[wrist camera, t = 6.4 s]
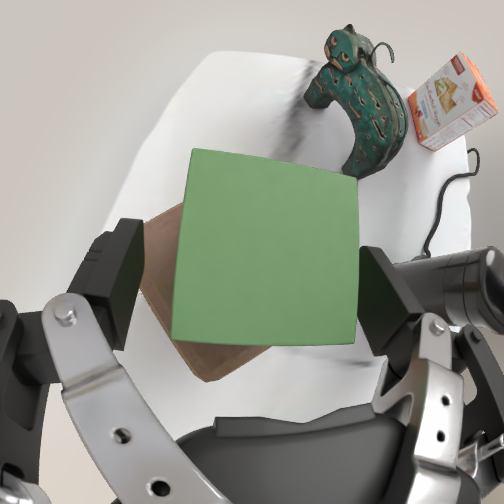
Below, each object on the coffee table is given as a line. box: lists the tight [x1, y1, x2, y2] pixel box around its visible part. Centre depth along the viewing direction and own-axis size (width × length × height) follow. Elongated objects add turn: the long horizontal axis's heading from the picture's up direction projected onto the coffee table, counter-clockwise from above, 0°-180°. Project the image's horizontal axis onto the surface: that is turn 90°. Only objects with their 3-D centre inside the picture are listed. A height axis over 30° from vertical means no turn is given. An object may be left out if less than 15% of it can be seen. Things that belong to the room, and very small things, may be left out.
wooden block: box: [139, 202, 272, 382], centre depth 24 cm, size 10×10×20 cm
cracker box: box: [408, 52, 498, 151], centre depth 38 cm, size 14×6×21 cm, turn 174°
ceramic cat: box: [304, 24, 408, 180], centre depth 32 cm, size 20×6×20 cm, turn 20°
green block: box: [170, 148, 359, 346], centre depth 11 cm, size 5×5×8 cm
